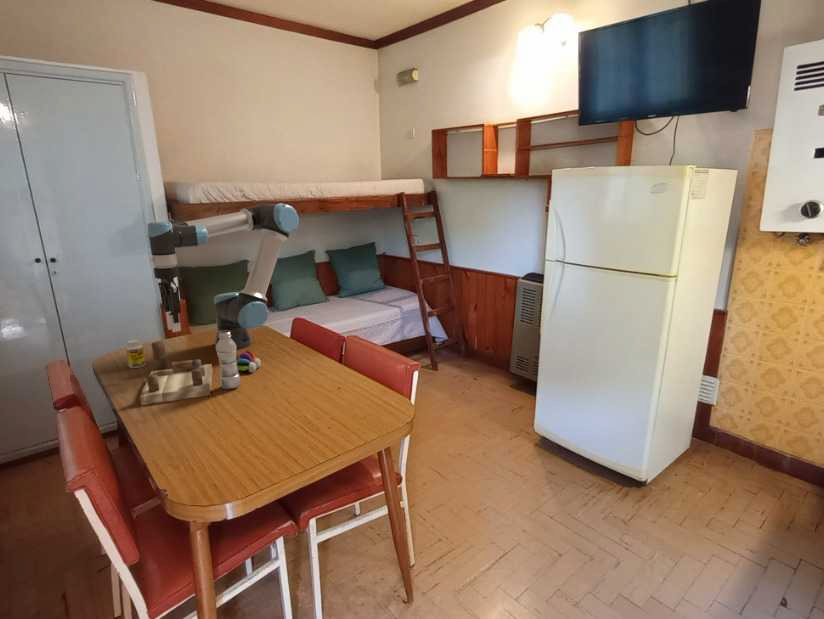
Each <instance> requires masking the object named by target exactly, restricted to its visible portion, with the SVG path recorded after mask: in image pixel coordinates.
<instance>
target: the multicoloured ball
mask: <svg viewBox="0 0 824 619" xmlns="http://www.w3.org/2000/svg"><path fill="white" fill-rule="evenodd" d="M238 358H239V359H237V360H236V362H237V368H238V373H239V372H240V371H247V370H248V372H249V373H251V374H252V373H254V372H255V371H256V370H257V369H259V368H260V367H261V365H262V362H261V360H260V358H258V357H256V354H255V353H253V352H252V351H251V350H245V351H244V352H242V353H241V354H239V357H238Z"/></svg>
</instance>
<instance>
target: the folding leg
mask: <svg viewBox="0 0 824 619" xmlns="http://www.w3.org/2000/svg"><path fill="white" fill-rule="evenodd" d="M200 365H202V360H201V359H199V358H198V359H194V360H193V359H188V360H180V361H172V362H171V369H172V370H173V372H180V371H188V370H193V366H194V369H199V366H200Z"/></svg>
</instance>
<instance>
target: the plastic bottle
mask: <svg viewBox="0 0 824 619" xmlns="http://www.w3.org/2000/svg"><path fill="white" fill-rule="evenodd" d="M230 337H231V333H230V331H228V330H225V331H220V332H219V338H220V340H219V341H218V343H217V345H216V348H215V351H216V355H217V358H218V363H219V375H220V376H219V383H220V386H221V387H222V389H225V390H232V389H236V388H238V387H239V386H240V384H241V375H240V373H239V372H238V368H237V349H236V344H235V342H234V341H233V340H232V339H231V338H230Z"/></svg>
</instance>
